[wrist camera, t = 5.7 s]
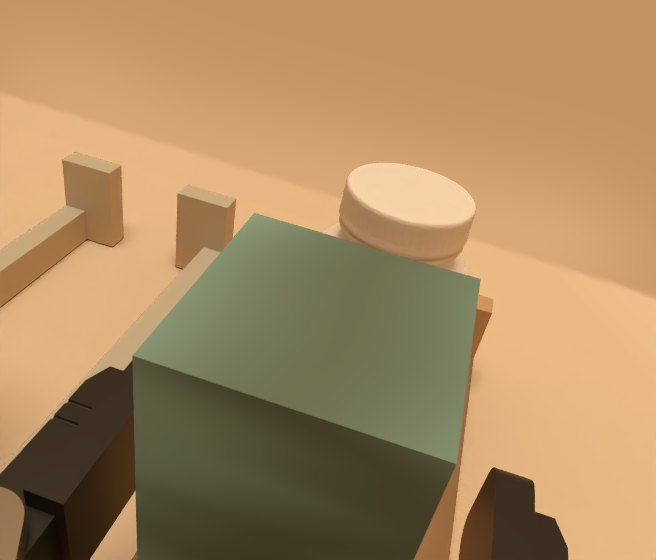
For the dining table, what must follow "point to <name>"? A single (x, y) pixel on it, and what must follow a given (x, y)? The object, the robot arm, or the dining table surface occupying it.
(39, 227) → the lane broken
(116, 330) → the dining table surface
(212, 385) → the tall sage green pillar
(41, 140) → the dining table surface
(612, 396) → the dining table surface
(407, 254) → the pill bottle
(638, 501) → the dining table surface
